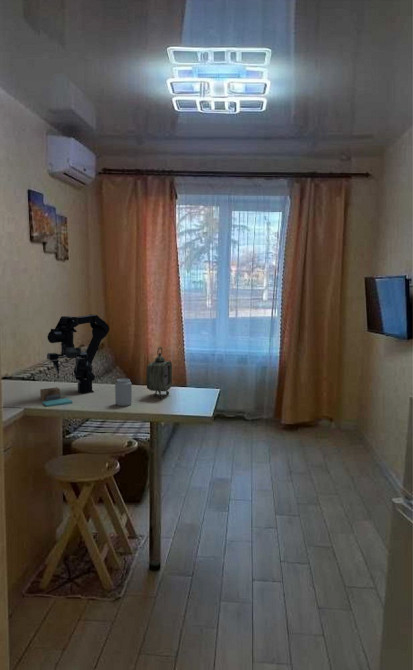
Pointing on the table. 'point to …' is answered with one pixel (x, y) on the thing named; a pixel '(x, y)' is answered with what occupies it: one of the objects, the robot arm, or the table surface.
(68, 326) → the robot arm
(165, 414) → the table surface
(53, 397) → the grey blocks
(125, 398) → the can
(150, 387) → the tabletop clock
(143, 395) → the table surface
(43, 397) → the walnut block
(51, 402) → the pad
